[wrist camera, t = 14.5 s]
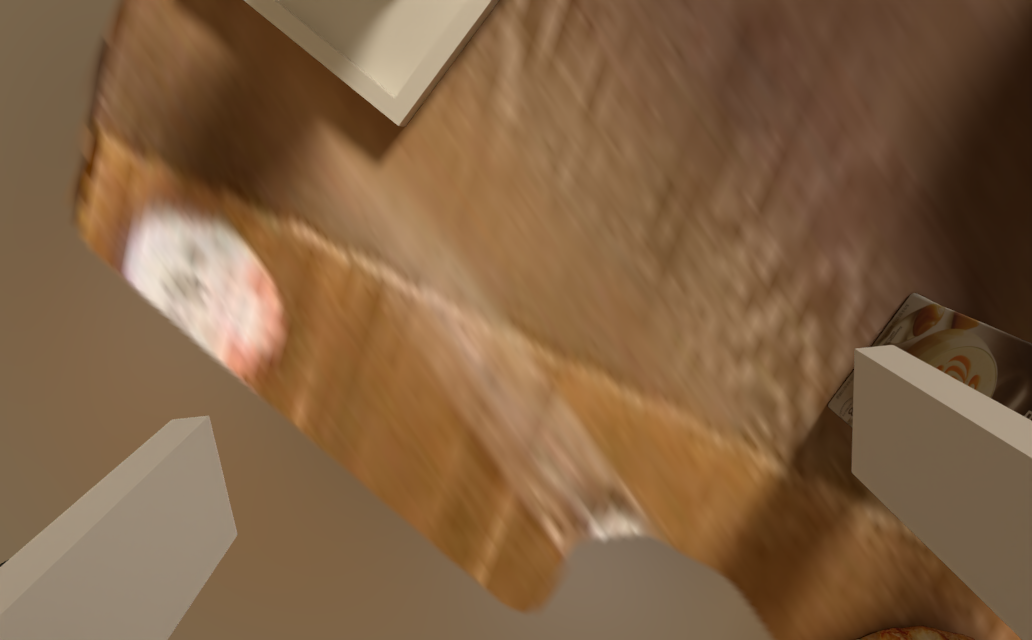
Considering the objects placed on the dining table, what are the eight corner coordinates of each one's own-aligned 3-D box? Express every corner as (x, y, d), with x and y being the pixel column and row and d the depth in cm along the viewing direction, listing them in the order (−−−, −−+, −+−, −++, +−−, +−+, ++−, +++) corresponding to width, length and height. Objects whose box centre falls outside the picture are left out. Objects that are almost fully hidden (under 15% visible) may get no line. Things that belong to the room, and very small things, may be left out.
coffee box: (909, 287, 43) (1137, 374, 27) (988, 335, 44) (1253, 445, 28) (822, 407, 45) (989, 551, 29) (900, 450, 46) (1101, 612, 30)
